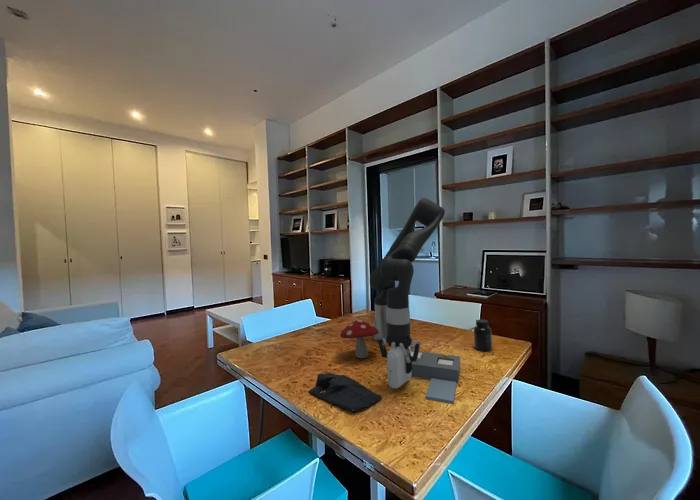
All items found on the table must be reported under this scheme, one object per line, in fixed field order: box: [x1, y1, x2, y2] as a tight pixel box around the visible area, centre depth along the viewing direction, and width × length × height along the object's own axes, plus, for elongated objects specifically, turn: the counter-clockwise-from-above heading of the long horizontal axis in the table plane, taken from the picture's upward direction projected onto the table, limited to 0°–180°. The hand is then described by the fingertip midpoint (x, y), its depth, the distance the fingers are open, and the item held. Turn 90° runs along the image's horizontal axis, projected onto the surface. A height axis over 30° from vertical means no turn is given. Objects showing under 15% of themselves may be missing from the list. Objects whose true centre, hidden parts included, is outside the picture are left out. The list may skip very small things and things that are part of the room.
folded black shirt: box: [308, 372, 384, 412], centre depth 92 cm, size 15×22×5 cm
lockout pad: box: [425, 378, 457, 404], centre depth 92 cm, size 8×12×1 cm, turn 156°
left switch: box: [411, 351, 422, 361], centre depth 108 cm, size 5×5×2 cm
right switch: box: [438, 359, 453, 365], centre depth 103 cm, size 5×5×2 cm
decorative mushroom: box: [339, 319, 379, 359], centre depth 122 cm, size 16×16×15 cm
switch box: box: [411, 350, 461, 385], centre depth 105 cm, size 20×12×5 cm, turn 66°
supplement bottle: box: [473, 319, 493, 352], centre depth 124 cm, size 7×7×12 cm
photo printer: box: [386, 346, 412, 389], centre depth 95 cm, size 10×4×12 cm, turn 140°
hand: (399, 371), depth 96 cm, fingers closed on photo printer, 5 cm apart
